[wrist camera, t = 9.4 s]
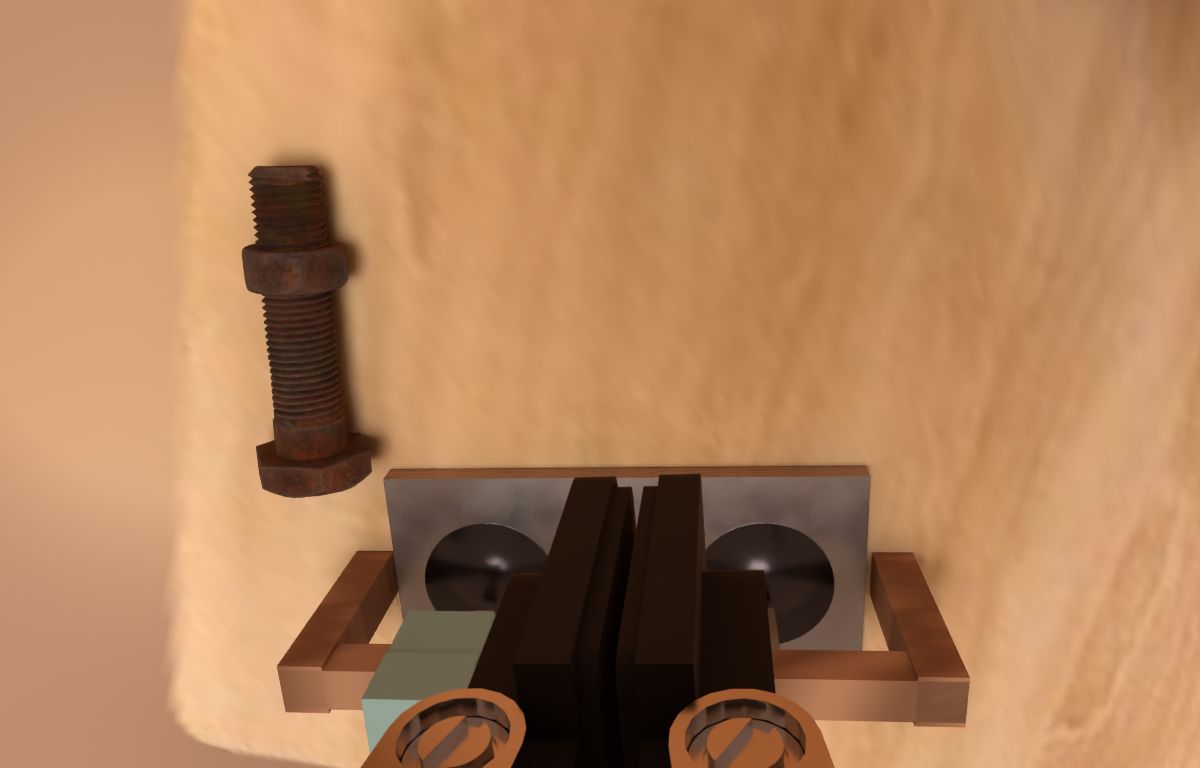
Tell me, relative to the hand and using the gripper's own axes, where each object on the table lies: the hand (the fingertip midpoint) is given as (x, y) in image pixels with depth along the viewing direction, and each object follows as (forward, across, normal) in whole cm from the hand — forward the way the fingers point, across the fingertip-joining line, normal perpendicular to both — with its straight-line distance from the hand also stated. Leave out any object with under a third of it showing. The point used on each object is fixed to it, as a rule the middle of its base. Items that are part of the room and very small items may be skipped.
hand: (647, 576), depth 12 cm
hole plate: (+31, +5, +19) cm, 36 cm away
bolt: (+31, +19, +4) cm, 37 cm away
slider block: (+29, +12, +19) cm, 36 cm away
